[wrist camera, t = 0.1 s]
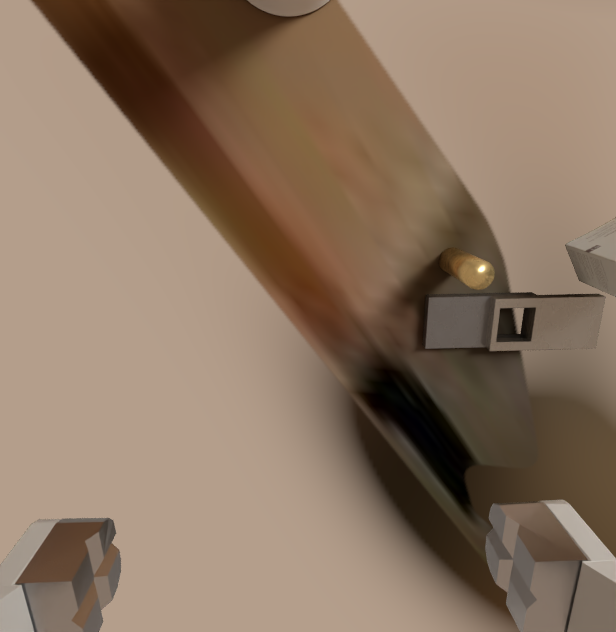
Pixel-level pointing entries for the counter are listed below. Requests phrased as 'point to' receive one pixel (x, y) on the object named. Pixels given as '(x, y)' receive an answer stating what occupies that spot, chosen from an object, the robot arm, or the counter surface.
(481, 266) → the pin
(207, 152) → the counter surface
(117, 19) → the counter surface
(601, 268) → the skincare box
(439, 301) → the bar with square hole
